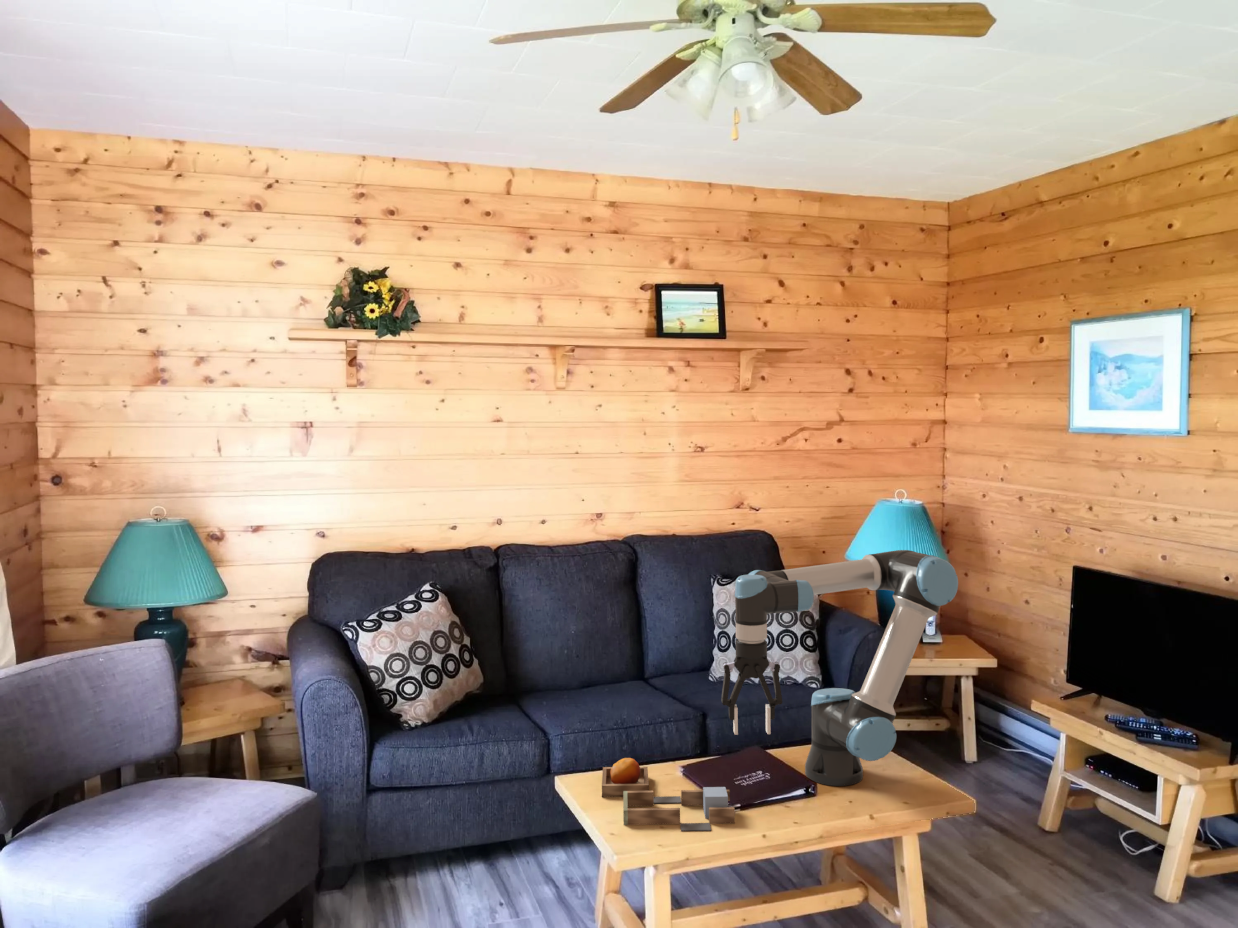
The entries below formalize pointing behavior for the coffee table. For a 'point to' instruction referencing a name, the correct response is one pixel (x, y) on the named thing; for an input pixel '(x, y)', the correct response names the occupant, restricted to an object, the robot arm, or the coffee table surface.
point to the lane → (671, 810)
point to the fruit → (625, 772)
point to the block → (714, 798)
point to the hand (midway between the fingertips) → (751, 732)
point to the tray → (617, 789)
